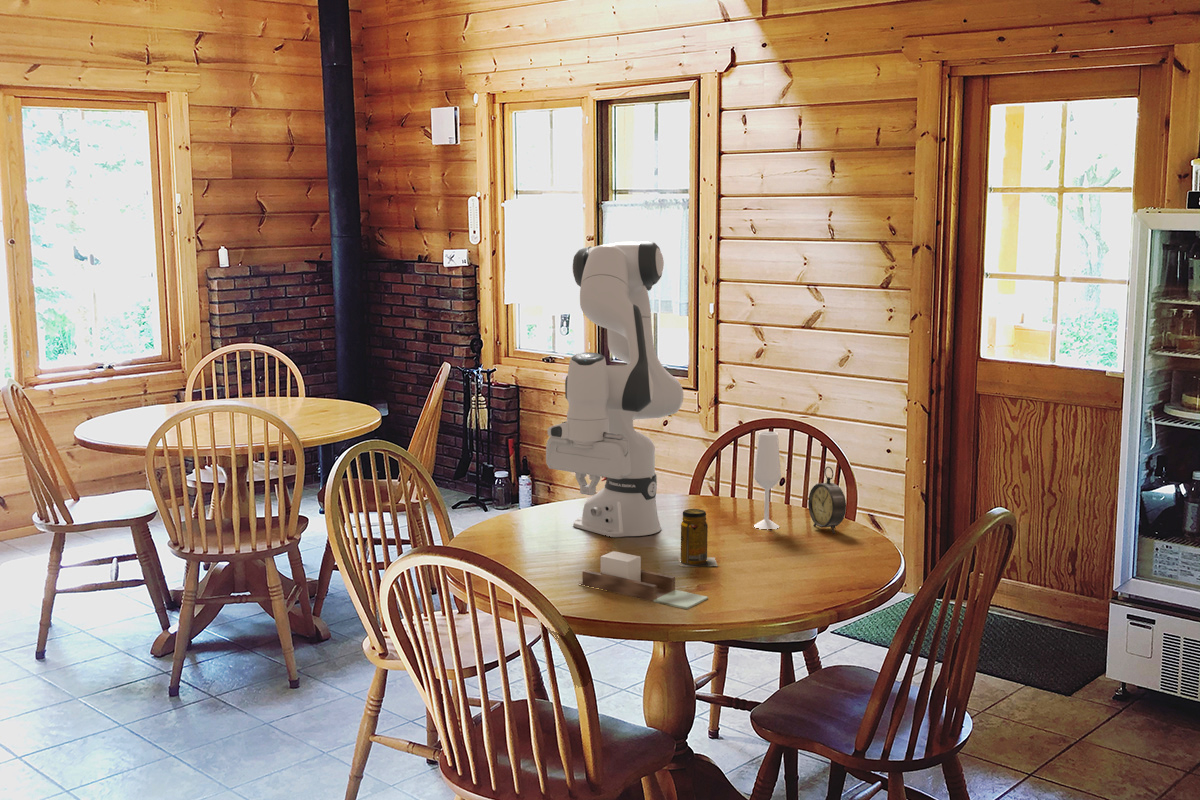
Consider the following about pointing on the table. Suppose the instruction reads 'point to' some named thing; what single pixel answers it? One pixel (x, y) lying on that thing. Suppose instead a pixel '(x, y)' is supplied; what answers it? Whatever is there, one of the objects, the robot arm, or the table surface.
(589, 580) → the chute
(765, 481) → the champagne flute
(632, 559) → the block
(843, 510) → the alarm clock
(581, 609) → the table surface
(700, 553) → the condiment
